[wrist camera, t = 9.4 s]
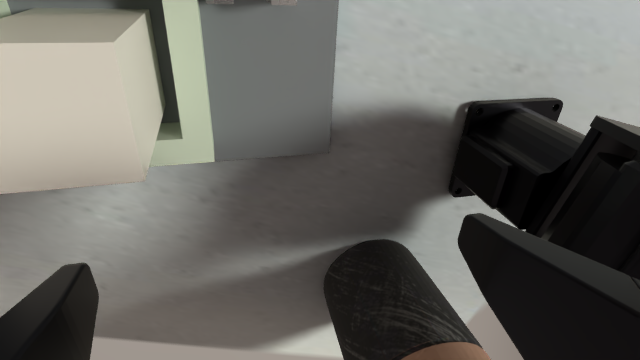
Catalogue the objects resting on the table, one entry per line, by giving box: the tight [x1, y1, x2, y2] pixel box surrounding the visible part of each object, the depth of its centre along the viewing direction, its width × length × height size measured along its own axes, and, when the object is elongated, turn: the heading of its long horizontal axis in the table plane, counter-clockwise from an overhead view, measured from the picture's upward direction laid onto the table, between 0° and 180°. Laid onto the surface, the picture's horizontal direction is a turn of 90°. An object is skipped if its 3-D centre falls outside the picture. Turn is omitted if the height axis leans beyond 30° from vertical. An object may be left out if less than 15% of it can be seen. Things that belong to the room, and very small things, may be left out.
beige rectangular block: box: [0, 8, 166, 194], centre depth 13 cm, size 4×4×7 cm
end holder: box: [0, 0, 215, 167], centre depth 15 cm, size 8×8×2 cm
